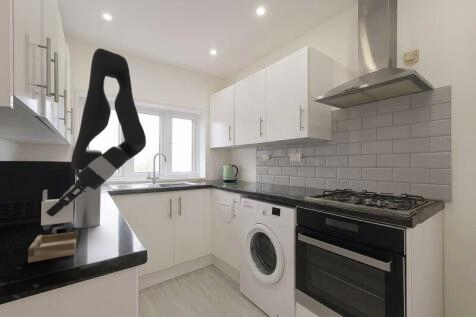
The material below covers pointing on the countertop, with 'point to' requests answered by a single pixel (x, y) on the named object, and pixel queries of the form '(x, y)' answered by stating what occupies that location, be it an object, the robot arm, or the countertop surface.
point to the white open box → (61, 217)
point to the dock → (52, 246)
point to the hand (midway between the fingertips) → (50, 212)
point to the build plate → (59, 230)
